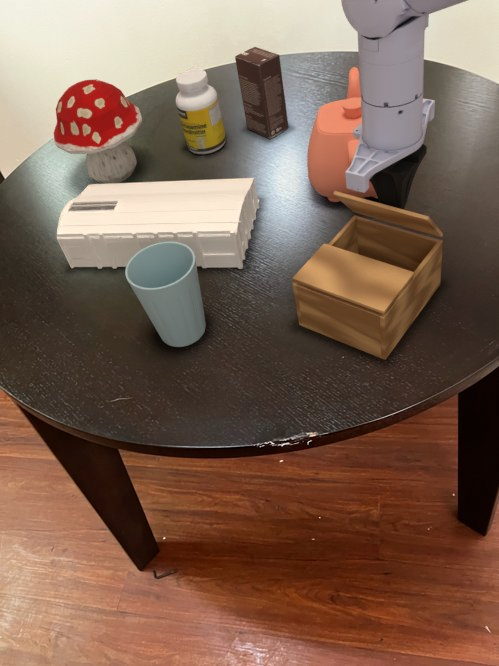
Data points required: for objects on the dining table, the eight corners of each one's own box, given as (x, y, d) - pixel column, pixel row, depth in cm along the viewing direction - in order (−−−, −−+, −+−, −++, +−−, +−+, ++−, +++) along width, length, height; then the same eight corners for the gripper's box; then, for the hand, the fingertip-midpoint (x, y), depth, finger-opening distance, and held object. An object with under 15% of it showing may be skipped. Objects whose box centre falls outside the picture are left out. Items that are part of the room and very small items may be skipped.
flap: (353, 212, 75) (354, 209, 75) (442, 237, 70) (443, 234, 69) (332, 194, 70) (334, 190, 70) (427, 220, 64) (428, 216, 64)
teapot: (402, 136, 97) (402, 56, 88) (411, 219, 83) (412, 135, 75) (312, 145, 99) (304, 68, 91) (307, 227, 86) (296, 146, 77)
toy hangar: (265, 199, 92) (257, 156, 87) (246, 269, 82) (236, 225, 77) (103, 204, 98) (87, 165, 93) (68, 270, 88) (48, 229, 83)
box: (290, 127, 104) (280, 53, 95) (269, 140, 102) (257, 66, 94) (266, 116, 108) (254, 44, 99) (245, 128, 106) (232, 56, 97)
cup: (139, 331, 78) (111, 267, 70) (190, 298, 80) (168, 231, 73) (174, 365, 73) (149, 299, 66) (227, 328, 76) (208, 260, 68)
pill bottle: (180, 147, 105) (161, 79, 97) (211, 130, 108) (195, 61, 99) (203, 160, 102) (186, 91, 93) (235, 142, 104) (220, 72, 95)
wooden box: (357, 257, 80) (354, 209, 75) (440, 284, 75) (443, 234, 69) (299, 325, 74) (291, 278, 69) (385, 360, 68) (384, 312, 63)
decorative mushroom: (65, 205, 100) (24, 116, 89) (81, 156, 109) (46, 70, 98) (153, 192, 98) (122, 99, 87) (161, 143, 107) (134, 54, 97)
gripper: (390, 51, 66) (392, 166, 76) (313, 123, 59) (325, 239, 69) (456, 60, 62) (449, 180, 72) (382, 137, 55) (385, 258, 65)
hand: (393, 210), depth 70 cm, fingers closed
